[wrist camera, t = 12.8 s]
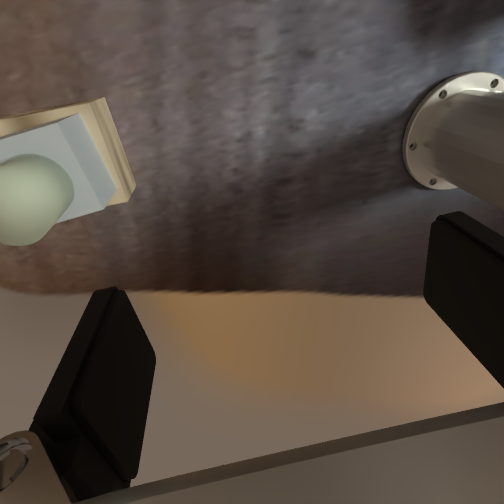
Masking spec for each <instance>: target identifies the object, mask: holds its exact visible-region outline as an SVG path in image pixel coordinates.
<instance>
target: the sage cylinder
mask: <svg viewBox="0 0 504 504" xmlns="http://www.w3.org/2000/svg"><path fill="white" fill-rule="evenodd" d="M73 198H74V186H73V183H72V180H71V178H70V176H69V175H68V173H67V172H66V171H65V170H64V169H63V168H62V167H61V166H60V165H59V164H58V163H56V162H55V161H53V160H51V159H49V158H47V157H45V156H42V155H38V154H21V155H18V156H15V157H14V158H12V159H10V160H8V161H6V162H5V163H3V164H1V165H0V243H2V244H6V245H12V246H24V245H29V244H33V243H35V242H37V241H39V240H40V239H41V238H43V237H44V235H45V234H46V233H47V232H48V231H49V230H50V228H51V227H52V226H53V225H54V224H55V223H56V221H57V220H58V219H59V218H60V217H61V216H62V214H63V213H64V212H65V211H66V210H67V209H68V207H69V206H70V205H71V203H72V201H73Z"/></svg>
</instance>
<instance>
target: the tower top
mask: <svg viewBox="0 0 504 504" xmlns="http://www.w3.org/2000/svg"><path fill="white" fill-rule="evenodd" d="M21 154H38V155H42V156H45V157H47V158H49V159H51V160H53V161H55V162H56V163H58V164H59V165H60V166H61V167H62V168H63V169H64V170H65V171H66V172H67V173H68V175H69V176H70V178H71V180H72V183H73V186H74V198H73V201H72V203H71V205H70V206H69V207H68V209H67V210H66V211H65V212H64V213H63V214H62V216H61V217H60V218H59V219H58V220H57V221H56V223H59V222H62V221H66V220H69V219H72V218H76V217H79V216H83V215H86V214H89V213H93V212H96V211H100V210H103V209H104V208H105V207H106V205H107V204H108V202H109V201H110V199H111V198H112V196H113V195H114V193H115V192H116V190H117V187H116V185H115V183H114V181H113V179H112V177H111V175H110V173H109V171H108V169H107V167H106V165H105V163H104V161H103V159H102V157H101V155H100V153H99V151H98V149H97V147H96V145H95V143H94V141H93V139H92V137H91V135H90V133H89V131H88V129H87V127H86V125H85V123H84V121H83V119H82V117H81V115H80V113H77V114H73V115H70V116H67V117H63V118H60V119H57V120H53V121H50V122H47V123H44V124H40V125H37V126H34V127H30V128H27V129H24V130H20V131H17V132H14V133H10V134H7V135H4V136H1V137H0V165H1V164H3V163H5V162H6V161H8V160H10V159H12V158H14V157H15V156H18V155H21Z"/></svg>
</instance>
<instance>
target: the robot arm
mask: <svg viewBox="0 0 504 504" xmlns="http://www.w3.org/2000/svg"><path fill="white" fill-rule="evenodd" d="M439 93H440V94H439ZM402 151H403V160H404V163H405V166H406V169H407V170H408V172H409V174H410V175H411V176H412V177H413V178H414V179H415V180H416V181H417V182H419V183H420V184H422V185H424V186H426V187H428V188H431V189H437V190H449V189H454V188H458V187H459V188H461V189H463V190H464V191H466V192H468V193H470V194H472V195H474V196H476V197H478V198H480V199H482V200H484V201H486V202H488V203H490V204H491V205H493V206H495V207H497V208H499V209H501V210H503V211H504V78H502V77H501V76H499V75H497V74H494V73H492V72H484V71H469V72H465V73H460V74H457V75H455V76H453V77H450V78H448V79H447V80H445V81H443V82H442V83H440V84H439V85H437V86H436V87H435V88H434V89H433V90H431V91H430V92H429V93H428V94H427V95H426V96H425V97H424V99H423V100H422V101H421V102H420V103H419V105H418V106H417V108H416V109H415V111H414V112H413V114H412V116H411V118H410V120H409V122H408V124H407V127H406V130H405V134H404V138H403V147H402ZM423 294H424V298H425V300H426V302H427V303H428V304H429V306H430V307H431V308H432V309H433V310H434V311H435V312H436V313H437V315H438V316H439V317H440V318H441V319H442V320H443V321H444V322H445V323H446V325H447V326H448V327H449V328H450V329H451V330H452V331H453V332H454V334H455V335H456V336H457V337H458V338H459V339H460V340H461V341H462V342H463V344H464V345H465V346H466V347H467V348H468V349H469V350H470V351H471V352H472V354H473V355H474V356H475V357H476V358H477V359H478V360H479V361H480V363H481V364H482V365H483V366H484V367H485V368H486V369H487V370H488V371H489V372H490V374H491V375H492V376H493V377H494V378H495V379H496V380H497V382H498V383H499V384H500V385H501V386H502V387H503V388H504V237H503V236H501V235H500V234H498V233H496V232H495V231H493V230H491V229H490V228H488V227H486V226H485V225H483V224H481V223H480V222H478V221H476V220H475V219H473V218H472V217H470V216H468V215H467V214H465V213H463V212H461V211H457V212H453V213H448V214H444V215H440V216H438V217H437V219H436V221H434V222H433V223H432V224H431V229H430V238H429V246H428V255H427V263H426V272H425V280H424V289H423ZM155 365H156V356H155V352H154V350H153V348H152V346H151V344H150V342H149V339H148V338H147V335H146V333H145V331H144V329H143V327H142V325H141V323H140V321H139V319H138V317H137V315H136V313H135V311H134V309H133V307H132V305H131V303H130V300H129V299H128V296H127V294H126V293H125V291H124V290H118V288H117V287H110V288H105V289H101V290H96V291H94V293H93V294H92V296H91V298H90V301H89V303H88V305H87V307H86V309H85V311H84V313H83V315H82V317H81V319H80V321H79V324H78V326H77V328H76V330H75V332H74V334H73V336H72V338H71V340H70V342H69V344H68V346H67V349H66V351H65V353H64V355H63V357H62V359H61V361H60V363H59V365H58V368H57V369H56V372H55V374H54V376H53V378H52V380H51V382H50V384H49V386H48V388H47V391H46V393H45V395H44V397H43V399H42V401H41V403H40V405H39V407H38V409H37V411H36V413H35V416H34V418H33V419H34V420H33V422H32V424H31V426H30V428H29V430H28V431H27V430H25V431H18V432H14V433H12V434H10V435H7V436H5V437H3V438H1V439H0V504H504V402H502V403H498V404H493V405H489V406H484V407H480V408H475V409H470V410H466V411H461V412H457V413H452V414H448V415H443V416H438V417H434V418H429V419H425V420H420V421H416V422H411V423H407V424H403V425H398V426H393V427H389V428H385V429H380V430H375V431H371V432H367V433H362V434H358V435H353V436H349V437H344V438H340V439H336V440H331V441H327V442H322V443H318V444H313V445H309V446H305V447H300V448H295V449H291V450H287V451H282V452H278V453H274V454H269V455H265V456H261V457H256V458H252V459H247V460H243V461H239V462H234V463H230V464H226V465H221V466H217V467H213V468H208V469H204V470H200V471H196V472H191V473H187V474H182V475H178V476H174V477H170V478H166V479H162V480H158V481H154V482H150V483H146V484H142V485H138V486H134V487H130V482H131V479H134V478H135V477H136V475H137V473H138V468H139V461H140V456H141V450H142V444H143V438H144V431H145V426H146V419H147V413H148V407H149V401H150V395H151V389H152V383H153V377H154V371H155Z"/></svg>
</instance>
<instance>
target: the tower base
mask: <svg viewBox="0 0 504 504" xmlns="http://www.w3.org/2000/svg"><path fill="white" fill-rule="evenodd" d="M77 113H80V115H81V117H82V119H83V121H84V123H85V125H86V127H87V129H88V131H89V133H90V135H91V137H92V139H93V141H94V143H95V145H96V147H97V149H98V151H99V153H100V155H101V157H102V159H103V161H104V163H105V165H106V167H107V169H108V171H109V173H110V175H111V177H112V179H113V181H114V183H115V185H116V187H117V190H116V192H115V193H114V195H113V196H112V198H111V199H110V201H109V202H108V204H107V205H106V206H109V205H114V204H119V203H124V202H128V200H129V198H130V197H131V195H132V193H133V191H134V189H135V187H136V183H135V180H134V177H133V175H132V172H131V169H130V166H129V164H128V161H127V158H126V155H125V152H124V150H123V147H122V144H121V141H120V139H119V136H118V133H117V130H116V128H115V125H114V122H113V119H112V116H111V114H110V111H109V108H108V105H107V103H106V100H105V97H102V98H97V99H92V100H86V101H81V102H76V103H71V104H65V105H60V106H55V107H50V108H44V109H39V110H34V111H29V112H24V113H18V114H13V115H9V116H6V117H2V118H0V137H1V136H4V135H7V134H10V133H14V132H17V131H20V130H24V129H27V128H30V127H34V126H37V125H40V124H44V123H47V122H50V121H53V120H57V119H60V118H63V117H67V116H70V115H73V114H77Z"/></svg>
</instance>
